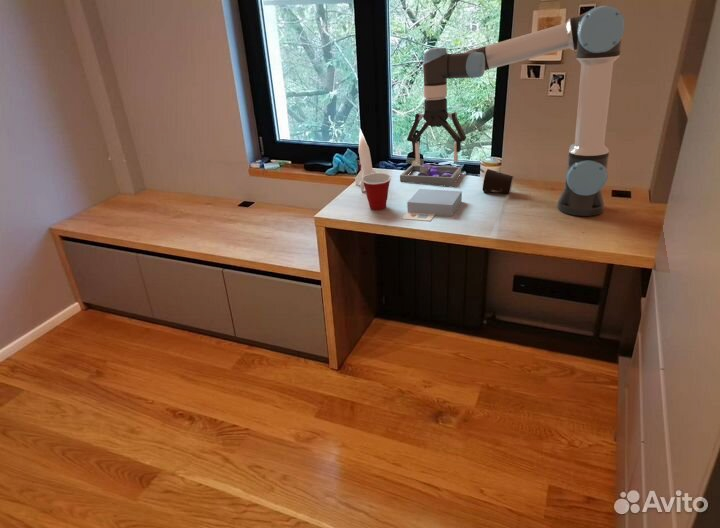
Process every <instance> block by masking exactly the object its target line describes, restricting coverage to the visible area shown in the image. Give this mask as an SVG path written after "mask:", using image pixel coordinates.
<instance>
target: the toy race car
mask: <svg viewBox="0 0 720 528" xmlns="http://www.w3.org/2000/svg"><path fill="white" fill-rule="evenodd" d="M431 166H432V165H431V164H430V163H422V167H419V171H418V172H419V173H417V175H416V176H435V177H451V176H452V175H453V174H452V173H451V172H450V171H445V172H444V173H439V172H438V169H437V168H438V167H437V166H438V165H433V166H434V167H433V168H431Z"/></svg>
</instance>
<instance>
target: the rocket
mask: <svg viewBox="0 0 720 528" xmlns="http://www.w3.org/2000/svg"><path fill="white" fill-rule="evenodd" d="M358 139H359V140H358V151H357V152H358V154H359V156H358V157H359V162H360V167H361V169H360V171H359V172H358V173H357V174H356V177H355V178H354V181H355V185H358V186H359V185H360V191H361V192H364V189H365V186H364V183H363V181H362V177H363V176H365V175H368V174H372V173H377V172H376V170H374V169H373V165H372V164H373V163H372V157H371V152H370V148H369V145H368V143H367V141H366V138H365V136H364V133H363V131H362V129H361V128H359V137H358Z"/></svg>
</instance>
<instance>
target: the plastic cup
mask: <svg viewBox="0 0 720 528" xmlns="http://www.w3.org/2000/svg"><path fill="white" fill-rule="evenodd" d="M391 180H392V175H391V174H389V173H387V172H386V173H384V172H376V173H372V174H368V175H365V176H363V177H362V181H363V183H364V189H365V193H366V197H367V201H368V205H369V208H370V210H373V211H383V210H385V209H386V207H387V201H388V195H389V188H390V182H391Z"/></svg>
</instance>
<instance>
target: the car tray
mask: <svg viewBox="0 0 720 528" xmlns="http://www.w3.org/2000/svg"><path fill="white" fill-rule="evenodd" d="M434 166H435V165H431V168H433V167H434ZM436 166H437V167H438V168H437V169H438V172H439V173H444V172H445V171H450V172H451V173H452V176H451V177H435V176H417V175H410V174H411V173H412V172H413V171H416V172H419V167H422V165H421V164H419V165H418V164H416V165H415V164H411V165H410V166H409V167H408V168H407V169H405V170H404V171H403V172H402V173H401V174H400V175H399V182H400V181H402V182H401V183H409V182H414V183H413V184H419V183H423V184H422V185H429V184H434V185H433V186H439V185H443V186H442V187H449V186H453V187H454V185H455V184H456V182H457V181H458V179H459V178H458V176H459V175H460V176H461V175H462V166H448V165H445V166H443V165H441V166H440V165H436ZM410 172H411V173H410ZM409 173H410V174H409ZM408 174H409V175H408ZM460 176H459V177H460ZM457 178H458V179H457ZM456 180H457V181H456ZM455 181H456V182H455ZM454 183H455V184H454ZM444 185H445V186H444Z"/></svg>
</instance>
